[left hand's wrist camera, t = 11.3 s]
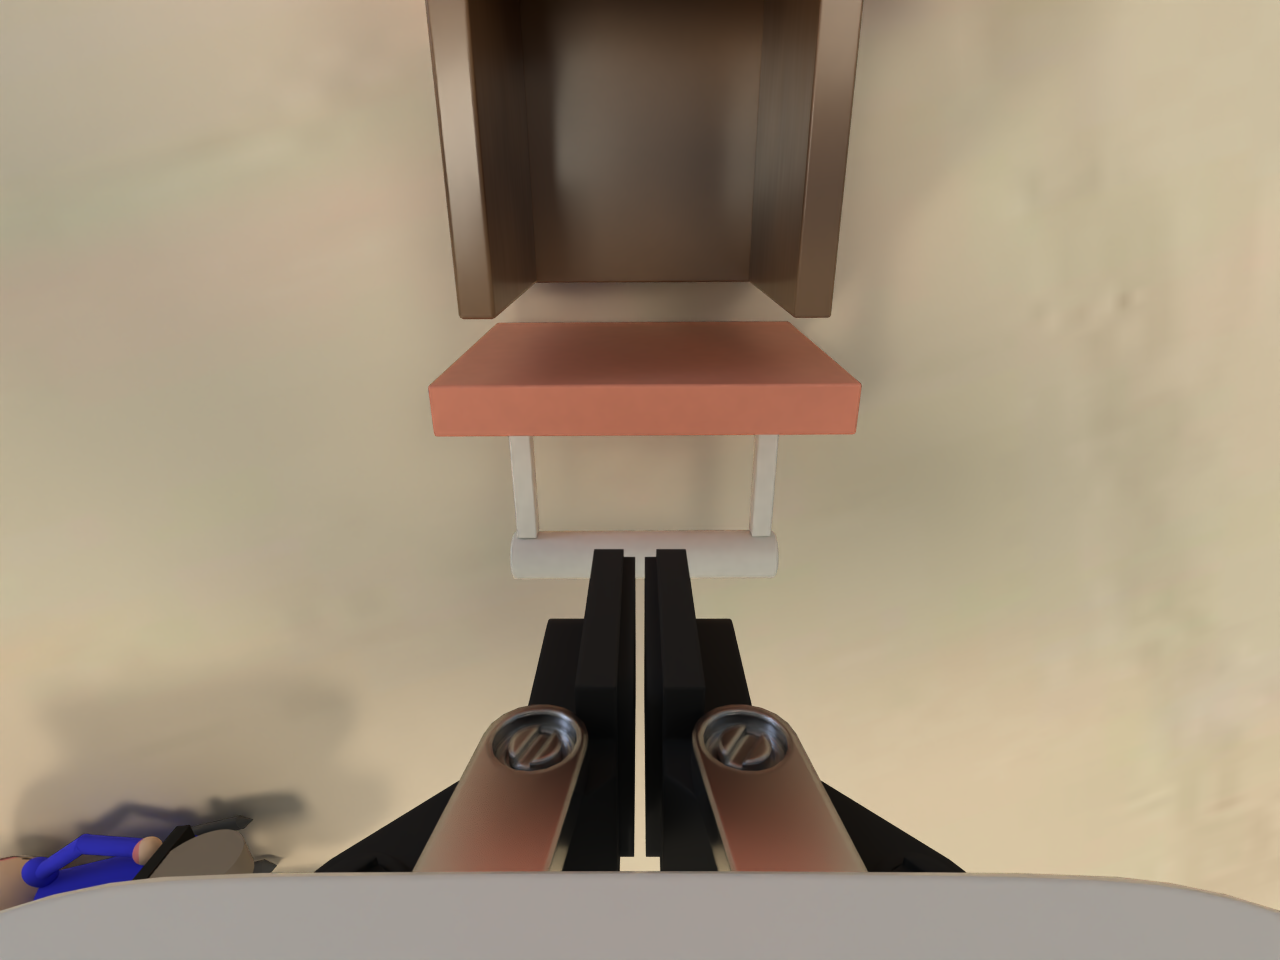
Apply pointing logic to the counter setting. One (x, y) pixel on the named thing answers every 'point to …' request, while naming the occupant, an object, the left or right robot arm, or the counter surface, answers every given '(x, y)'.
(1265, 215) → the counter surface
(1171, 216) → the counter surface
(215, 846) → the figurine character
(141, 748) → the counter surface
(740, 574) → the drawer
